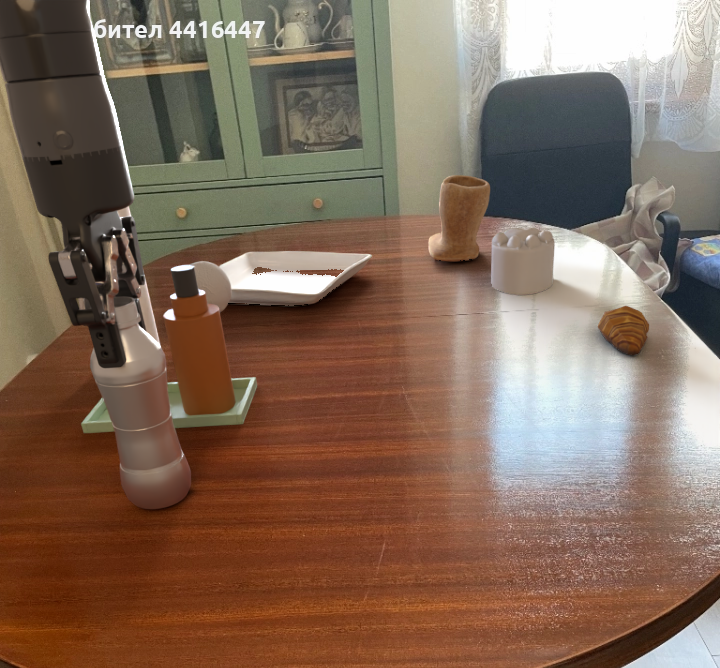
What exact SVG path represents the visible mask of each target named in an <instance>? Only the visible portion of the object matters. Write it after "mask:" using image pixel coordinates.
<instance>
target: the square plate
mask: <svg viewBox="0 0 720 668" xmlns="http://www.w3.org/2000/svg"><path fill="white" fill-rule="evenodd" d="M372 258H373V255H372V254H369V253H348V252H347V253H346V252H332V251H331V252H330V251H329V252H328V251H306V250H305V251H301V250H295V251H294V250H292V251H291V250H287V251H286V250H285V251H283V250H281V251H279V250H277V251H249V252H245V253H243V254H242V255H239V256H237V257H235V258H233V259H230V260H228V261H226V262H224V263H223V264H219V265H218V266H219V267H220V268H221V269H222V270H223V271H224V272H225V273H226V275H227V276H228V278H229V281H230V284H231V298H230V301H229V303H245V304H244V305H249V304H260V305H259V306H271V305H285V306H284V307H295V306H294V305H302V306H305V305H304V304H308V305H313V304H316V303H318V302H319V300H320V299H321V300H323V299H324V298H325V297H326V296H328V295H329V294H330V293H332V292H333V291H334V290H335V289H337V288H338V287H340V286H341V285H343V284H344V283H345V282H347V281H348V280H349V279H350V278H352V277H354V276H355V275H356V274H357V273H359V272H361V270H362V269H364V267H365V266H367V264H368V263H369V261H370V260H371V259H372ZM257 267H262V268H267V269H268V268H269V269H271V270H274V271H271V272H266V273H265V272H263V273H259V274H258V273H257V275H256V274H252V273H254V272H253V271H254V269H255V268H257ZM328 269H329V270H331V269H333V270H334V269H337V270H340V269H341V270H344V271H343V272H342V273H340V274H339V275H338V276H337V277H335V276H331V275H326V274H325V275H323V276H322V275H317V274H313V275H308V274H306V275H305V274H303V275H302V274H300V272H299V273H298V272H296V271H297V270H298V271H300V270H328ZM275 270H277V271H275ZM287 270H288V271H289V272H285V271H287ZM283 271H284V272H283ZM290 271H291V272H290ZM292 271H293V272H292ZM260 274H261V275H260ZM340 284H341V285H340ZM336 287H337V288H336ZM333 289H334V290H333ZM332 290H333V291H332ZM329 292H330V293H329ZM328 293H329V294H328ZM327 294H328V295H327ZM323 297H324V298H323ZM321 300H320V301H321ZM246 303H247V304H246ZM288 305H289V306H288Z"/></svg>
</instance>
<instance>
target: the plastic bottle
mask: <svg viewBox="0 0 720 668" xmlns="http://www.w3.org/2000/svg"><path fill="white" fill-rule="evenodd" d="M101 301H102V304H103V300H101ZM114 308H115V317H116V318H115V322H117V325H118V329H119V333H120V337H121V341H122V345H123V349H124V353H125V357H126V362H125V364H124V365H123V366H122V367H118V368H102V367H100V366H99V364H98V361H97V357H96V354H95V350H94V347H92V352H91V354H90V362H89V368H90V370H91V374H92V376H93V379H94V381H95V384H96V386H97V388H98V391H99V393H100V396H101V398H103V400H104V402H105V404H106V407H107V410H108V413H109V416H110V419H111V421H112V425H113V428H114V431H113V432H114V435H115V441H116V447H117V452H118V458H119V475H120V484H121V488H122V490H123V492H124V494H125V496H126V498H127V499H128V501H129V502H131V503H132V504H133V505H135V506H136V507H138V508H139V509H144V510H161V509H164V508H168V507H171V506H173V505H176V504H178V503H179V502H181V501H183V500H184V499H185V498H186V497H187V495H188V493H189V491H190V489H191V487H192V470H191V467H190V465H189V462H188V459H187V457H186V455H185V453H184V451H183V450H182V446H181V444H180V440H179V437H178V434H177V430H176V428H175V427H174V424H173V420H172V414H171V411H170V408H171V407H170V401H169V395H168V371H167V370H168V369H167V360H166V354H165V352H164V350H163V348H162V346H161V344H160V345H159V343H158V342H157V341H156V340H155V339H154V338H153V337H152V336H151V335H149V334H148V333H147V332H146V331H145V330H143V329H142V328H141V327H140V326H139V324H138V323H139V322H140V321H141V318H140V314H139V313H138V311H137V307H136V303H135V301H134V298H131V297H114Z"/></svg>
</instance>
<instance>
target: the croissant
mask: <svg viewBox="0 0 720 668" xmlns="http://www.w3.org/2000/svg"><path fill="white" fill-rule="evenodd" d="M597 329H598V330H599V331H600V333H601V334H602V336H603V337H604V339H605V340H606V342H608V343H609V344H610V345H612V346H613V348H614V349H616V350H618V351H619V352H620V353H623V354H625V355H629V356H638V355H639V354H640V353H641V351H642V350H643V347H644V346H645V344H646V342H647V340H648V338H649V337H648V333H649V331H650V322H649V321H648V320H647V319H646V317H645V315H644V313H643V311H640V310H639V309H636V308H634V307H631V306H629V305H624V306H619V307H617V308H614V309H609V310H606V311H604V312H603V314H602V316H601V318H600V320H599V322H598V324H597Z"/></svg>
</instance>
